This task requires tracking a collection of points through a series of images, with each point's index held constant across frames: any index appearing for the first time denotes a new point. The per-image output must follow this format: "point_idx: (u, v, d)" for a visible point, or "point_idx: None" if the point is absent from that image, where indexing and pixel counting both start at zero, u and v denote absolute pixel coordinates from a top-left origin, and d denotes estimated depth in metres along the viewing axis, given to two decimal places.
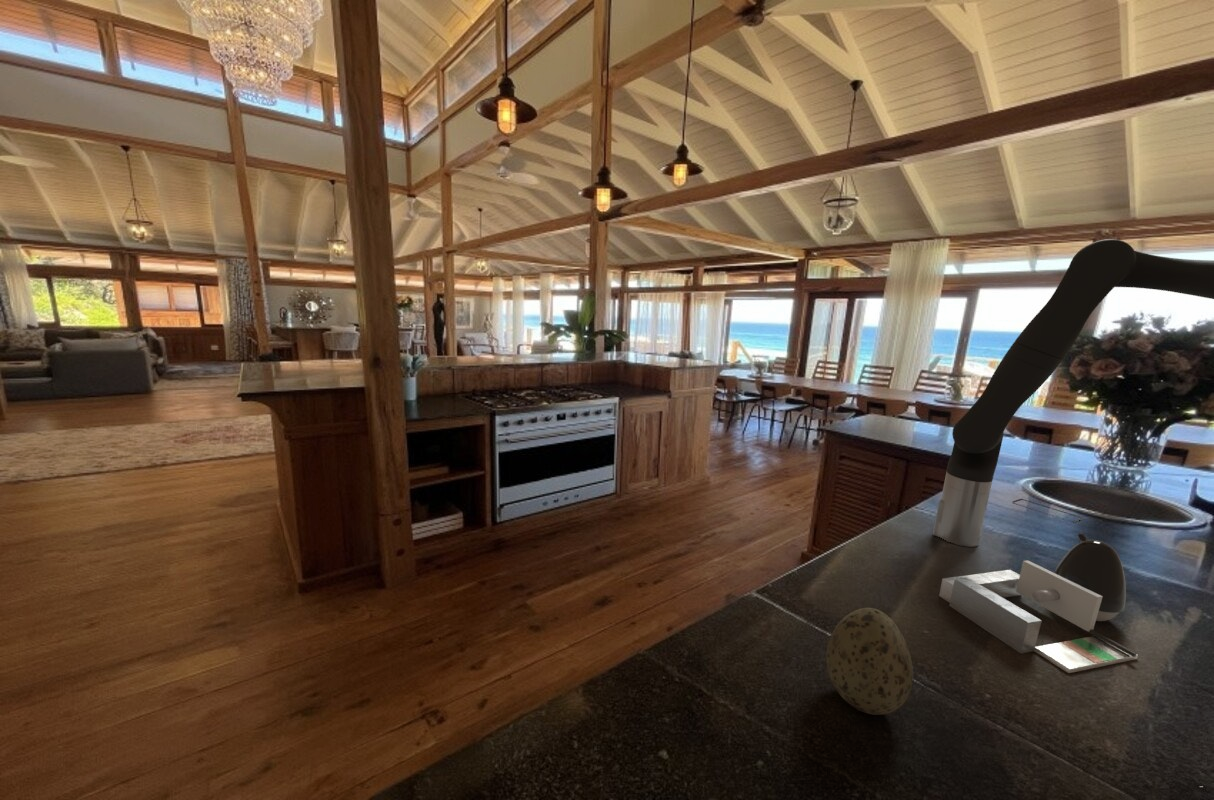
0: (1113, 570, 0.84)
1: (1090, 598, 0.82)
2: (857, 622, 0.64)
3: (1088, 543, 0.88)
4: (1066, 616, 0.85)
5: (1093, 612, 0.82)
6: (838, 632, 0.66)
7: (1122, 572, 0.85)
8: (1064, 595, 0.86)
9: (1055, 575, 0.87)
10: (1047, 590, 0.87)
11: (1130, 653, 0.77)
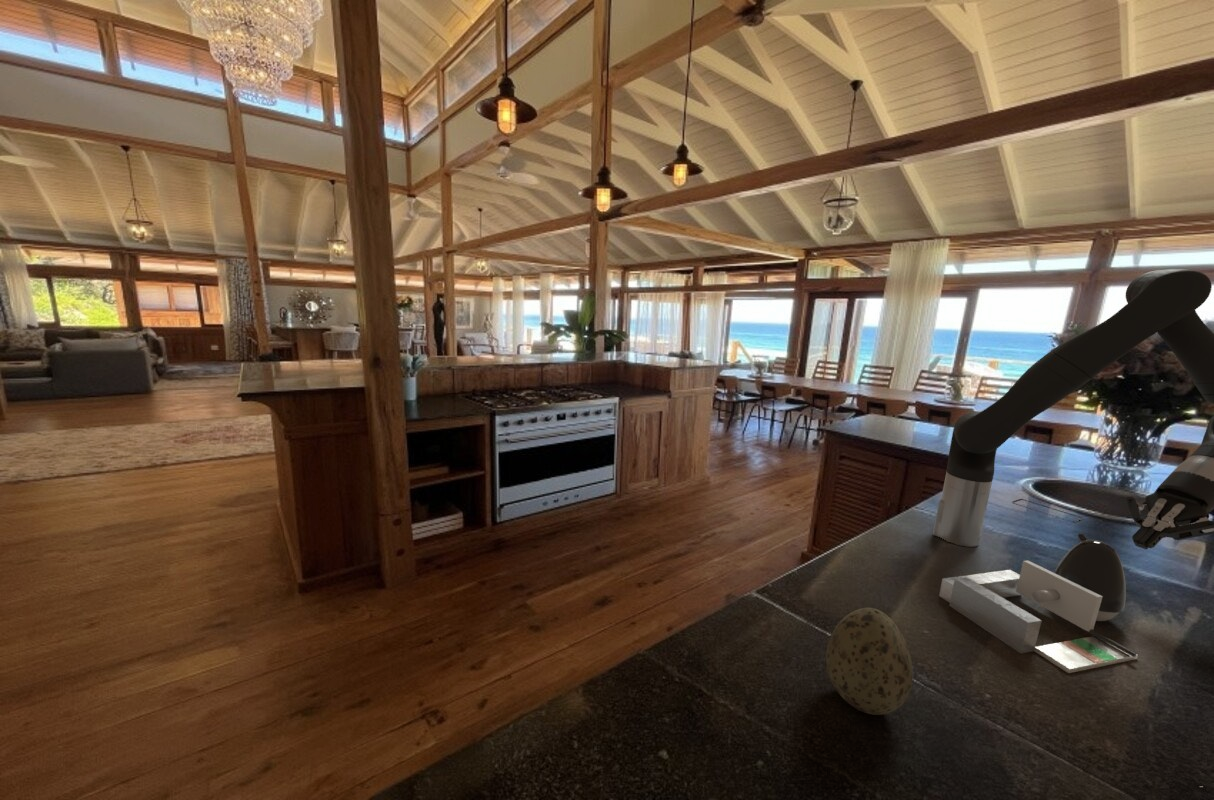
0: (1113, 569, 0.84)
1: (1090, 598, 0.82)
2: (857, 622, 0.64)
3: (1088, 543, 0.88)
4: (1066, 616, 0.85)
5: (1093, 612, 0.82)
6: (838, 632, 0.66)
7: (1122, 572, 0.85)
8: (1064, 595, 0.86)
9: (1055, 575, 0.87)
10: (1047, 590, 0.87)
11: (1130, 653, 0.77)
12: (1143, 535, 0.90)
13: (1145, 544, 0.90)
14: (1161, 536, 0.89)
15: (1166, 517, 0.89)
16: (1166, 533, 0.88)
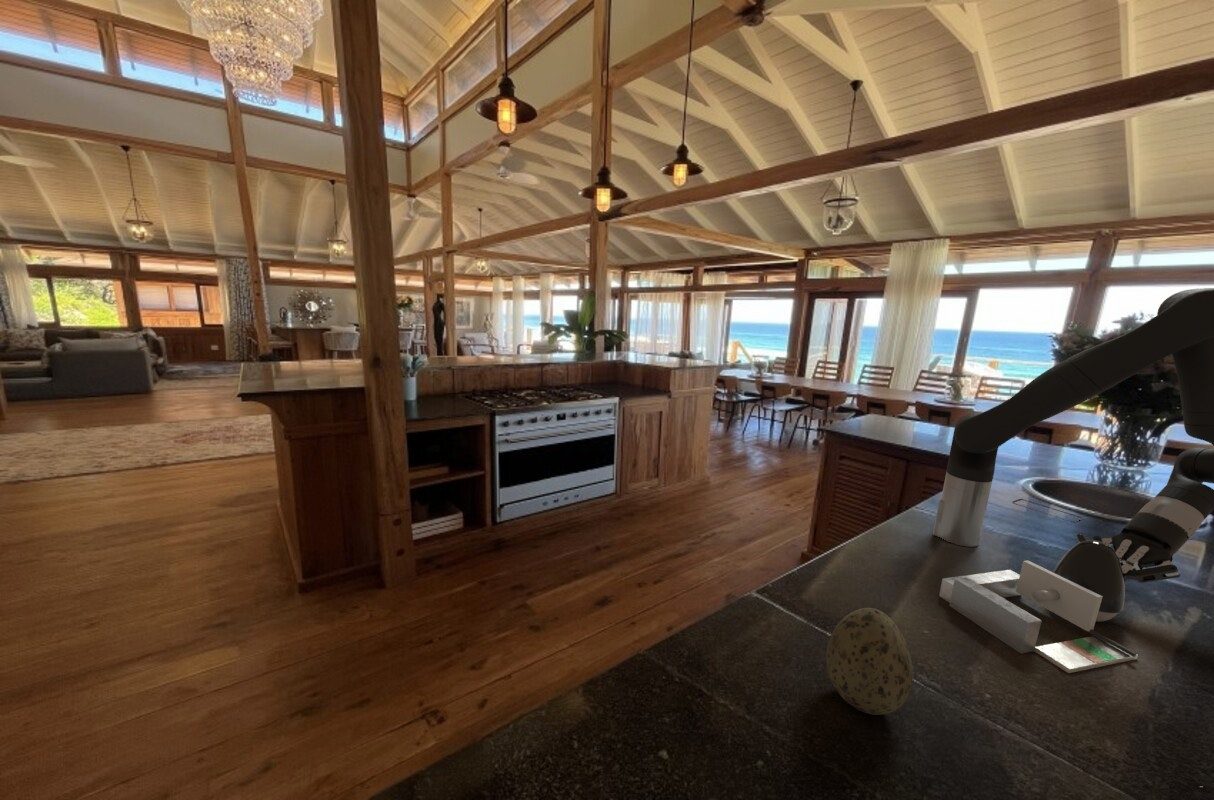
0: (1112, 570, 0.84)
1: (1090, 598, 0.82)
2: (857, 622, 0.64)
3: (1087, 543, 0.87)
4: (1066, 616, 0.85)
5: (1093, 612, 0.82)
6: (838, 632, 0.66)
7: (1121, 572, 0.85)
8: (1064, 595, 0.86)
9: (1055, 575, 0.87)
10: (1047, 590, 0.87)
11: (1130, 653, 0.77)
12: None
13: None
14: (1125, 578, 0.89)
15: (1131, 559, 0.89)
16: (1131, 576, 0.89)
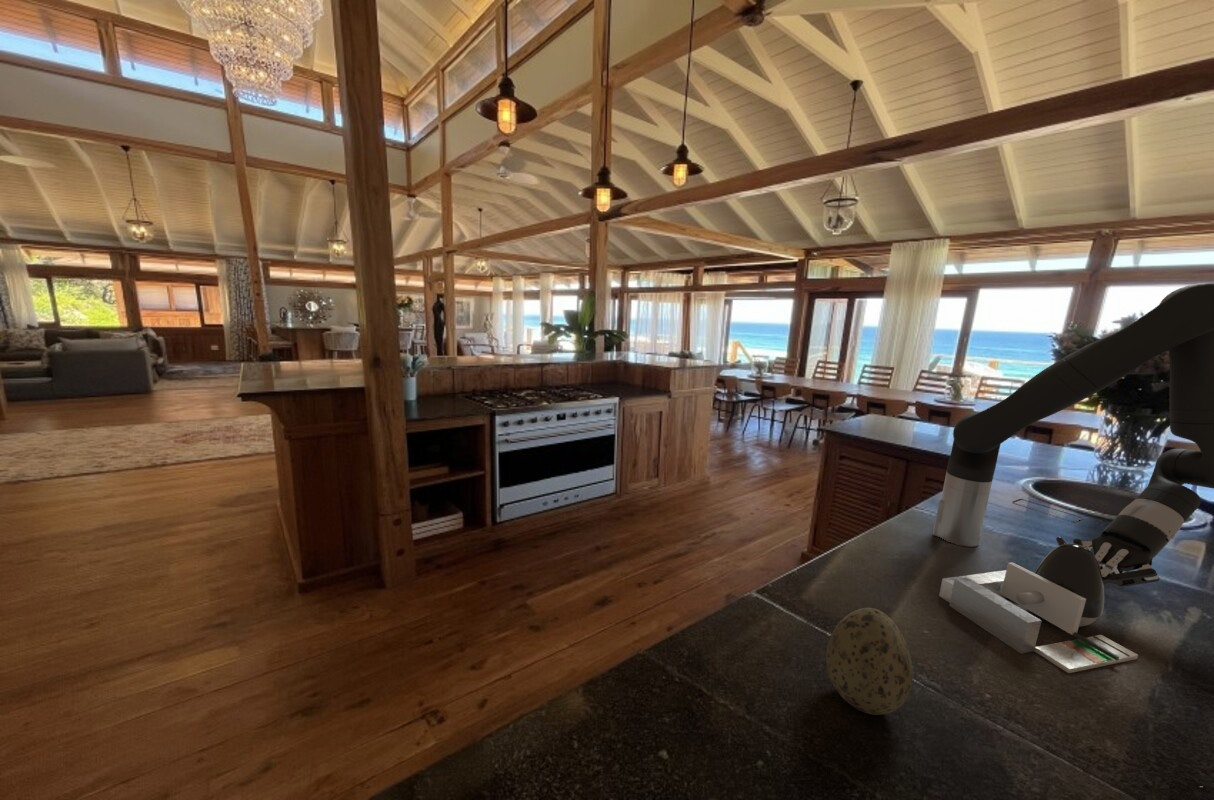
0: (1091, 574, 0.83)
1: (1073, 601, 0.81)
2: (857, 622, 0.64)
3: (1067, 547, 0.86)
4: (1050, 619, 0.84)
5: (1077, 615, 0.81)
6: (838, 632, 0.66)
7: (1100, 576, 0.83)
8: (1048, 597, 0.85)
9: (1040, 577, 0.86)
10: (1031, 592, 0.86)
11: (1113, 656, 0.76)
12: None
13: None
14: (1105, 582, 0.88)
15: (1110, 563, 0.88)
16: (1110, 580, 0.87)
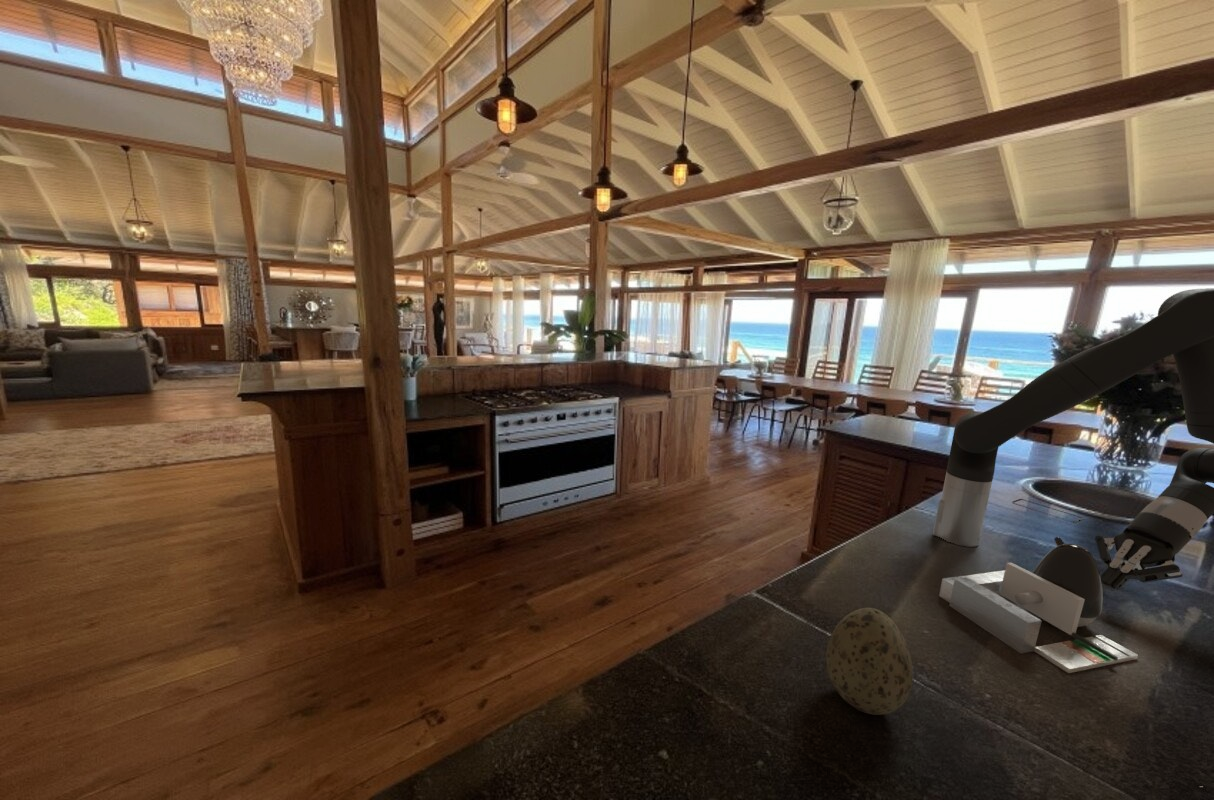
0: (1090, 574, 0.82)
1: (1072, 601, 0.81)
2: (857, 622, 0.64)
3: (1065, 547, 0.86)
4: (1049, 619, 0.84)
5: (1076, 615, 0.80)
6: (838, 632, 0.66)
7: (1099, 576, 0.83)
8: (1047, 598, 0.85)
9: (1038, 577, 0.86)
10: (1030, 593, 0.86)
11: (1112, 657, 0.76)
12: (1110, 576, 0.90)
13: (1111, 586, 0.90)
14: (1127, 578, 0.89)
15: (1133, 559, 0.89)
16: (1132, 575, 0.88)
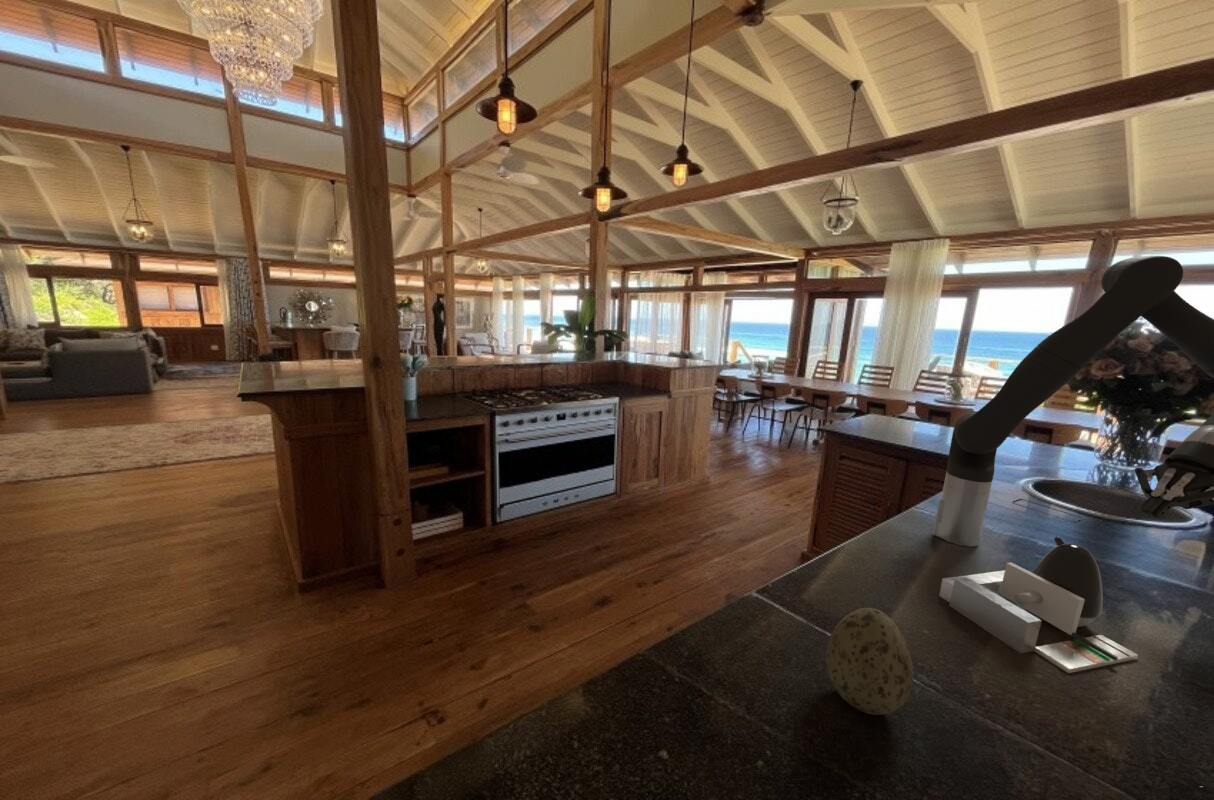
0: (1090, 574, 0.82)
1: (1072, 601, 0.81)
2: (857, 622, 0.64)
3: (1065, 547, 0.86)
4: (1049, 619, 0.84)
5: (1076, 615, 0.80)
6: (838, 632, 0.66)
7: (1099, 576, 0.83)
8: (1047, 598, 0.85)
9: (1038, 577, 0.86)
10: (1030, 593, 0.86)
11: (1112, 657, 0.76)
12: (1152, 505, 0.89)
13: (1154, 514, 0.88)
14: (1170, 505, 0.88)
15: (1176, 487, 0.88)
16: (1176, 502, 0.87)
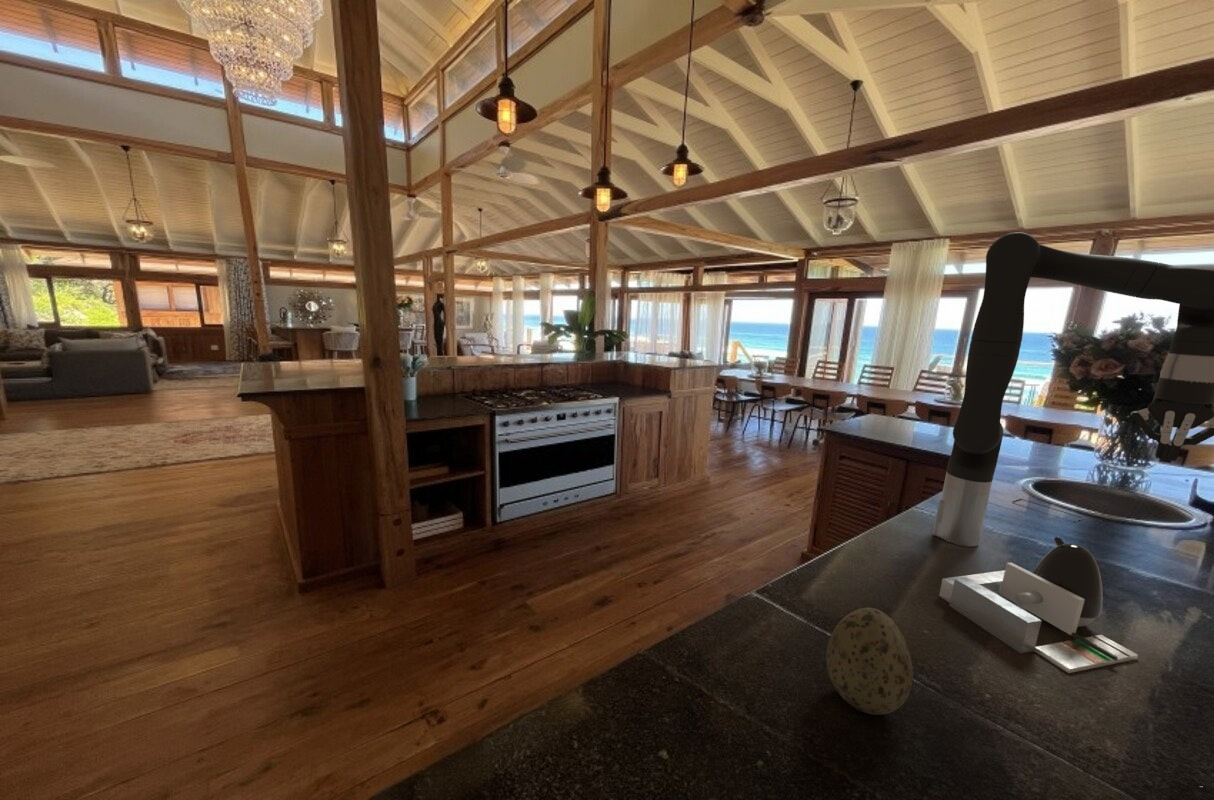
0: (1090, 574, 0.82)
1: (1072, 601, 0.81)
2: (857, 622, 0.64)
3: (1065, 547, 0.86)
4: (1049, 619, 0.84)
5: (1076, 615, 0.80)
6: (838, 632, 0.66)
7: (1099, 576, 0.83)
8: (1047, 598, 0.85)
9: (1038, 577, 0.86)
10: (1030, 593, 0.86)
11: (1112, 657, 0.76)
12: (1167, 453, 0.92)
13: None
14: None
15: (1182, 431, 0.90)
16: (1186, 444, 0.91)
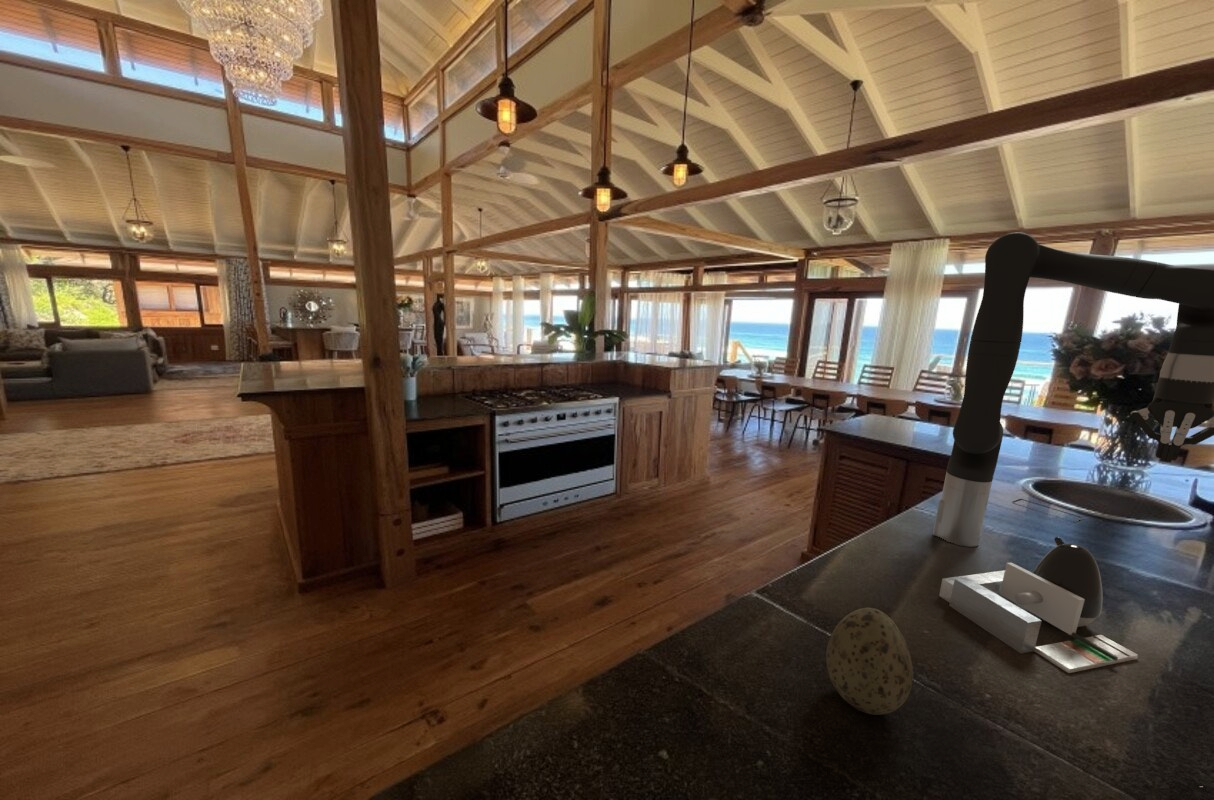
0: (1090, 574, 0.82)
1: (1072, 601, 0.81)
2: (857, 622, 0.64)
3: (1065, 547, 0.86)
4: (1049, 619, 0.84)
5: (1076, 615, 0.80)
6: (838, 632, 0.66)
7: (1099, 576, 0.83)
8: (1047, 598, 0.85)
9: (1038, 577, 0.86)
10: (1030, 593, 0.86)
11: (1112, 657, 0.76)
12: (1167, 453, 0.92)
13: None
14: None
15: (1182, 431, 0.90)
16: None
